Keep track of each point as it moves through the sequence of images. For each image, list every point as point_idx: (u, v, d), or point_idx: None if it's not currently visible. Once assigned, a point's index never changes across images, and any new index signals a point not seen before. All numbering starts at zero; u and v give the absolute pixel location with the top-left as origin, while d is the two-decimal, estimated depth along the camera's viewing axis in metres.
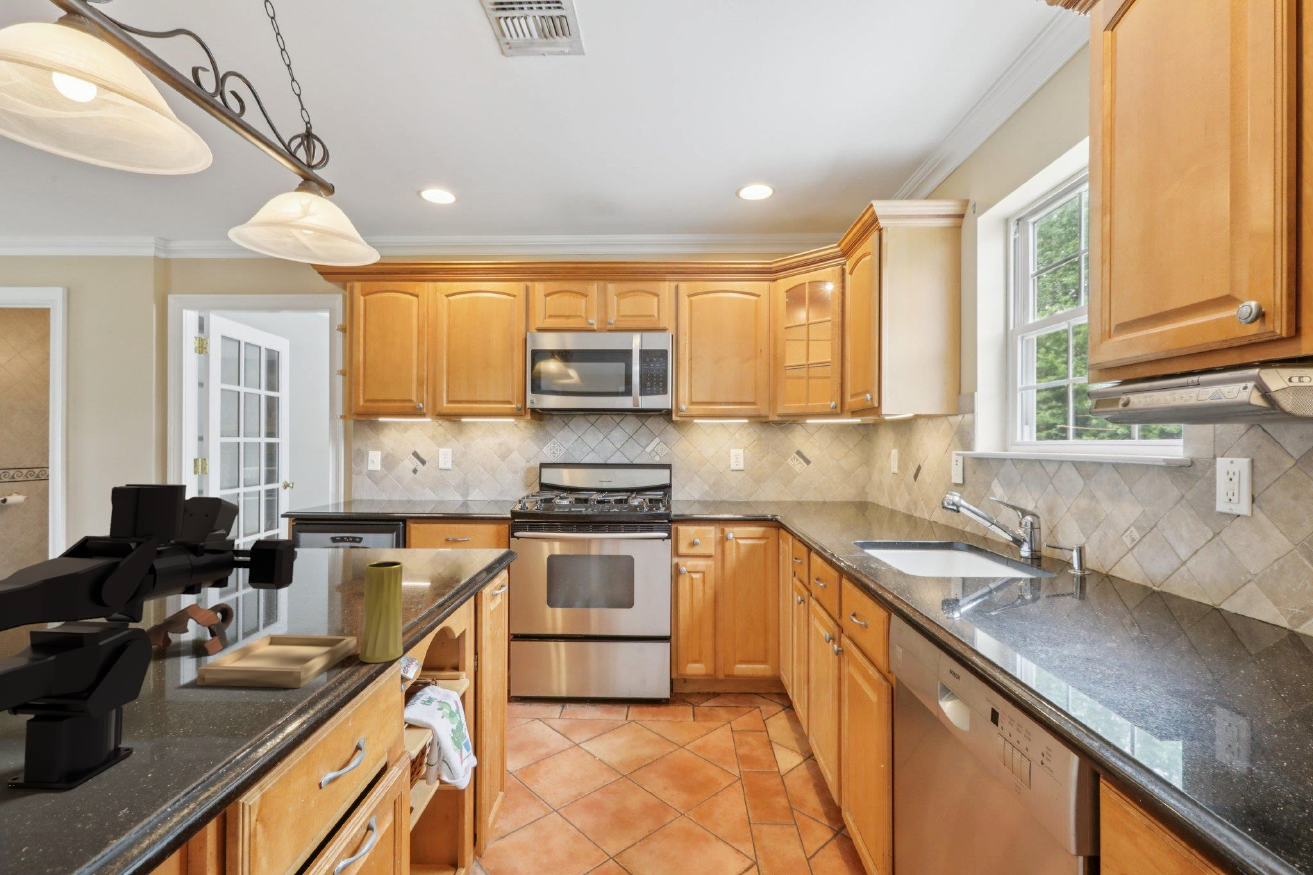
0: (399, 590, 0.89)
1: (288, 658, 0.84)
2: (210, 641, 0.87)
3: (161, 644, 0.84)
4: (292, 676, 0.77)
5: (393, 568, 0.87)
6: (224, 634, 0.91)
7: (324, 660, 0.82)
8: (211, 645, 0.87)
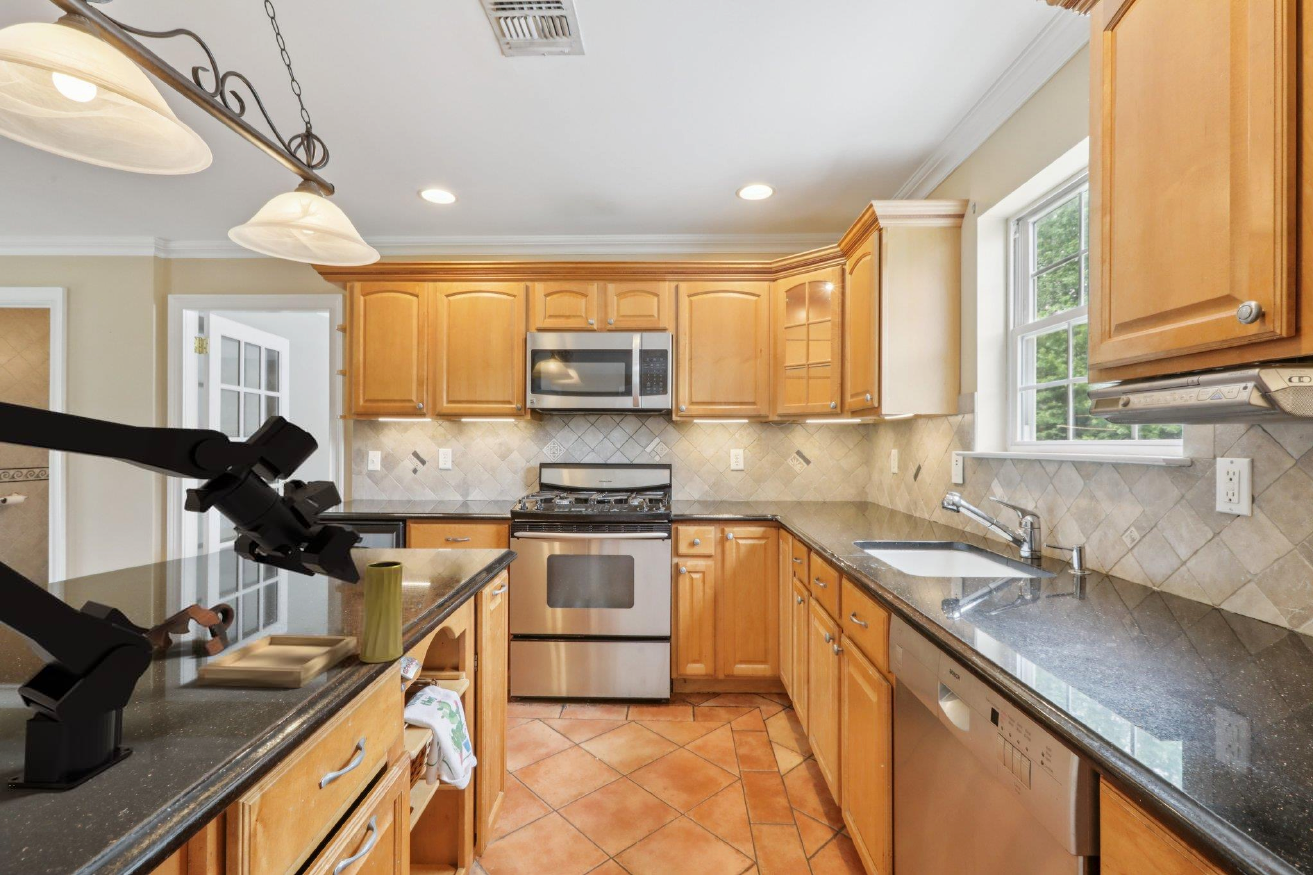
0: (399, 590, 0.89)
1: (288, 658, 0.84)
2: (211, 641, 0.87)
3: (162, 644, 0.84)
4: (292, 676, 0.77)
5: (393, 568, 0.87)
6: (225, 634, 0.90)
7: (324, 660, 0.82)
8: (211, 645, 0.87)
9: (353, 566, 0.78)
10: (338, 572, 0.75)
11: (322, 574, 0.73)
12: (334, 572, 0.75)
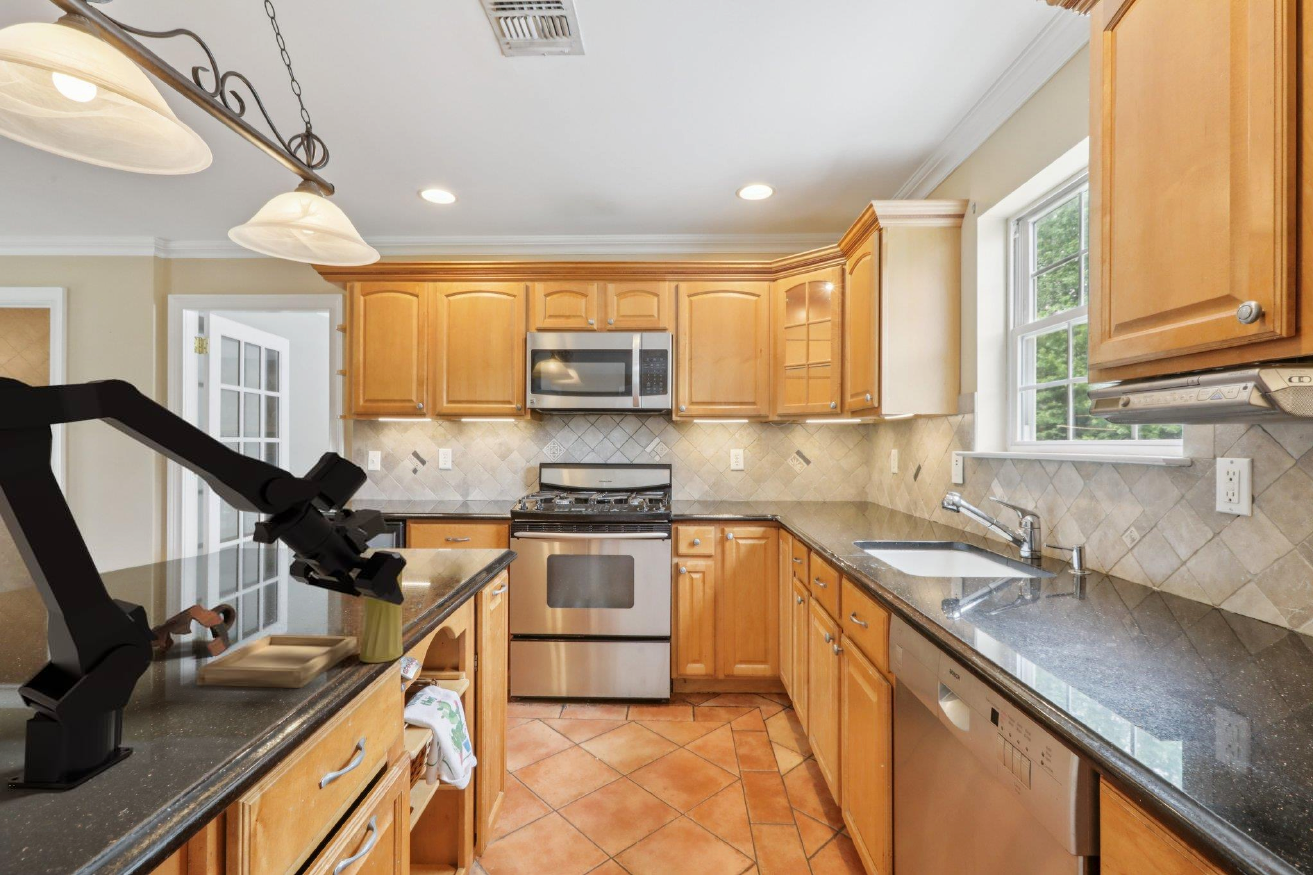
0: None
1: (288, 658, 0.84)
2: (213, 642, 0.87)
3: (164, 645, 0.83)
4: (292, 676, 0.77)
5: None
6: (227, 635, 0.90)
7: (324, 660, 0.82)
8: (213, 645, 0.87)
9: (398, 589, 0.84)
10: (386, 595, 0.82)
11: (373, 597, 0.80)
12: (383, 595, 0.81)
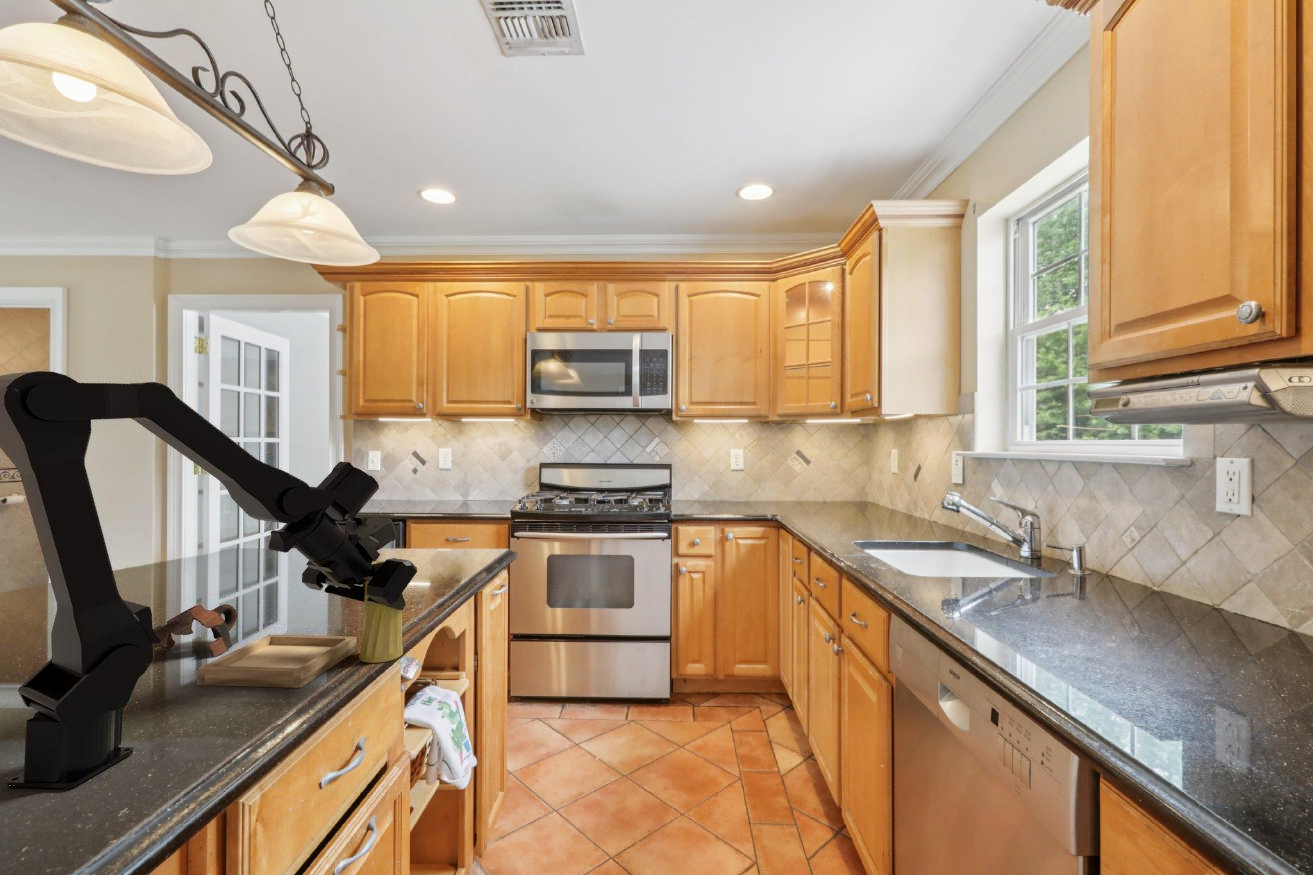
0: None
1: (288, 658, 0.84)
2: (214, 642, 0.87)
3: (165, 645, 0.83)
4: (292, 676, 0.77)
5: None
6: (228, 635, 0.90)
7: (324, 660, 0.82)
8: (215, 646, 0.87)
9: (400, 594, 0.87)
10: None
11: (376, 603, 0.82)
12: None
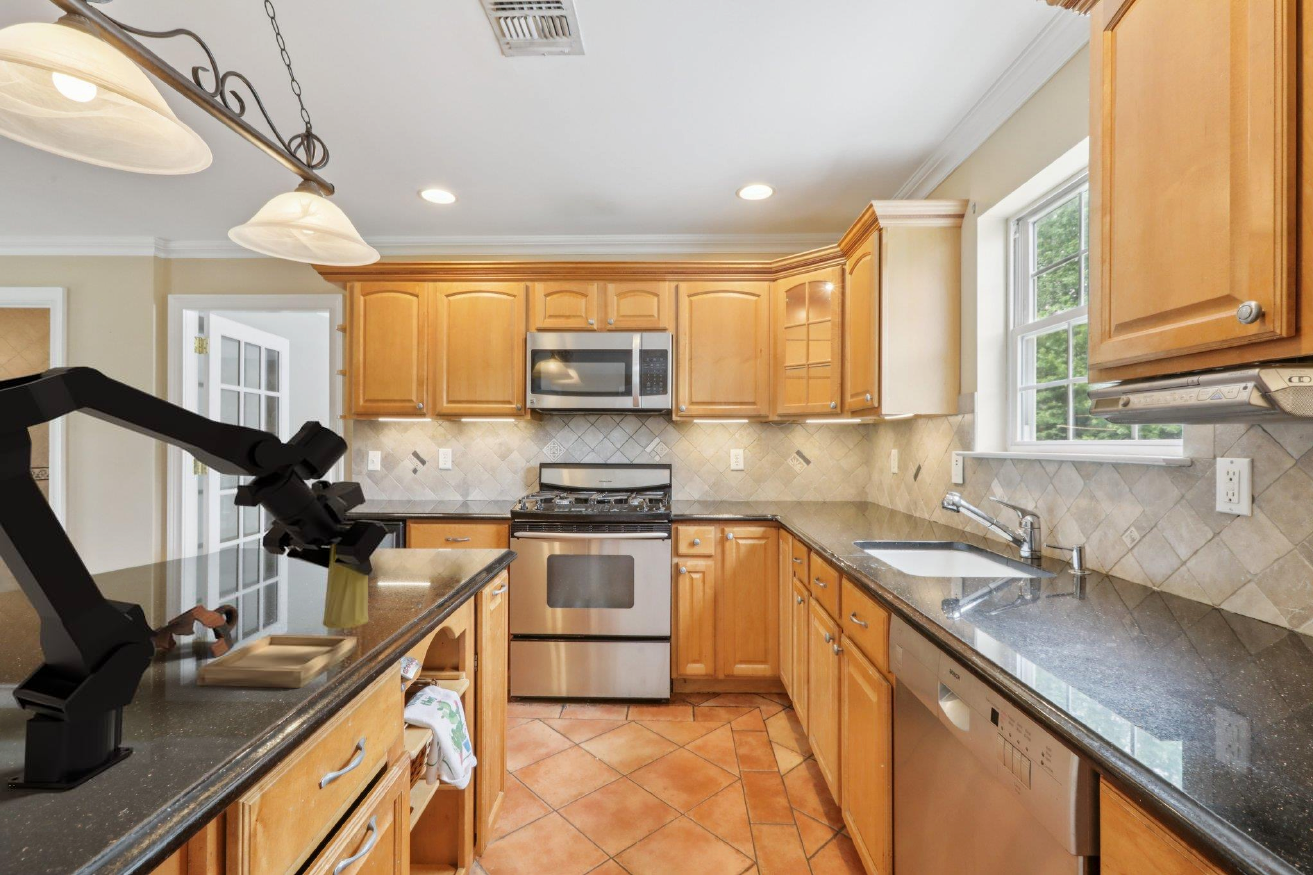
0: None
1: (288, 658, 0.84)
2: (216, 643, 0.87)
3: (167, 646, 0.83)
4: (292, 676, 0.77)
5: None
6: (230, 636, 0.90)
7: (324, 660, 0.82)
8: (217, 646, 0.86)
9: (368, 558, 0.86)
10: (356, 563, 0.83)
11: (344, 564, 0.81)
12: (353, 563, 0.83)
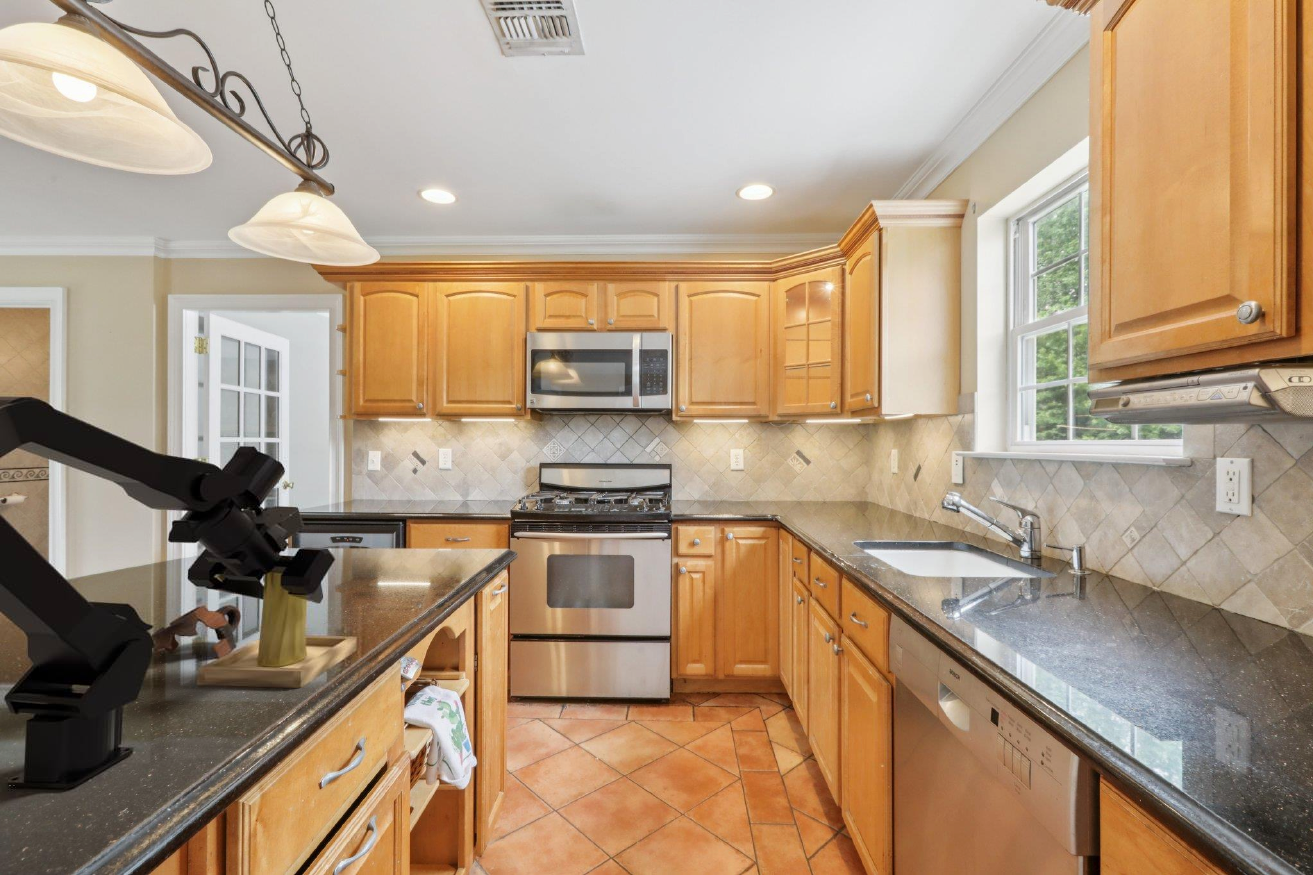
0: None
1: None
2: (219, 643, 0.86)
3: (170, 647, 0.83)
4: (292, 676, 0.77)
5: None
6: (232, 636, 0.90)
7: (324, 660, 0.82)
8: (220, 647, 0.86)
9: (320, 586, 0.83)
10: None
11: (299, 595, 0.78)
12: None
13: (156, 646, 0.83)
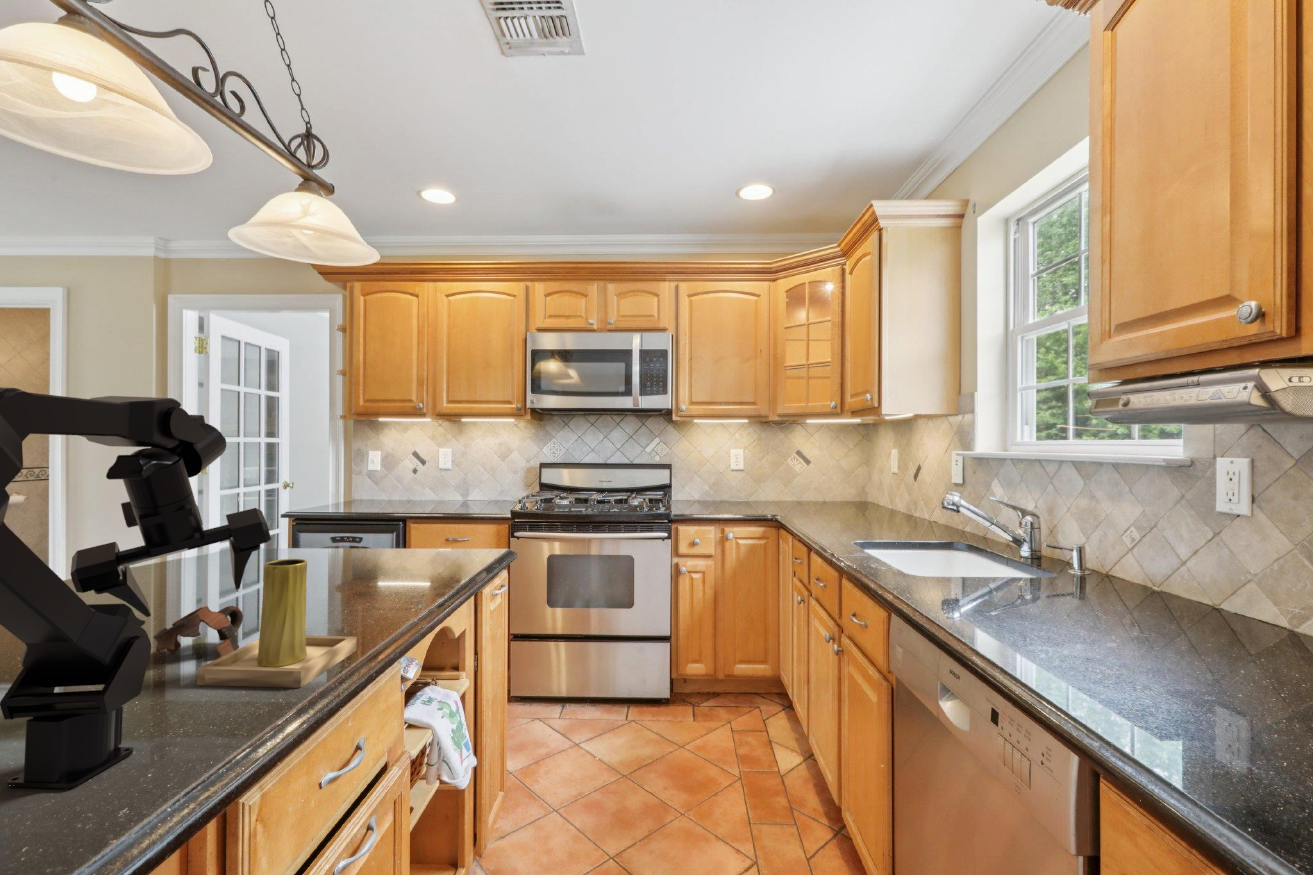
0: (304, 588, 0.84)
1: None
2: (222, 644, 0.86)
3: (173, 648, 0.82)
4: (292, 676, 0.77)
5: (298, 565, 0.83)
6: (235, 637, 0.89)
7: (324, 660, 0.82)
8: (223, 648, 0.86)
9: None
10: None
11: (247, 554, 0.74)
12: None
13: (159, 647, 0.83)
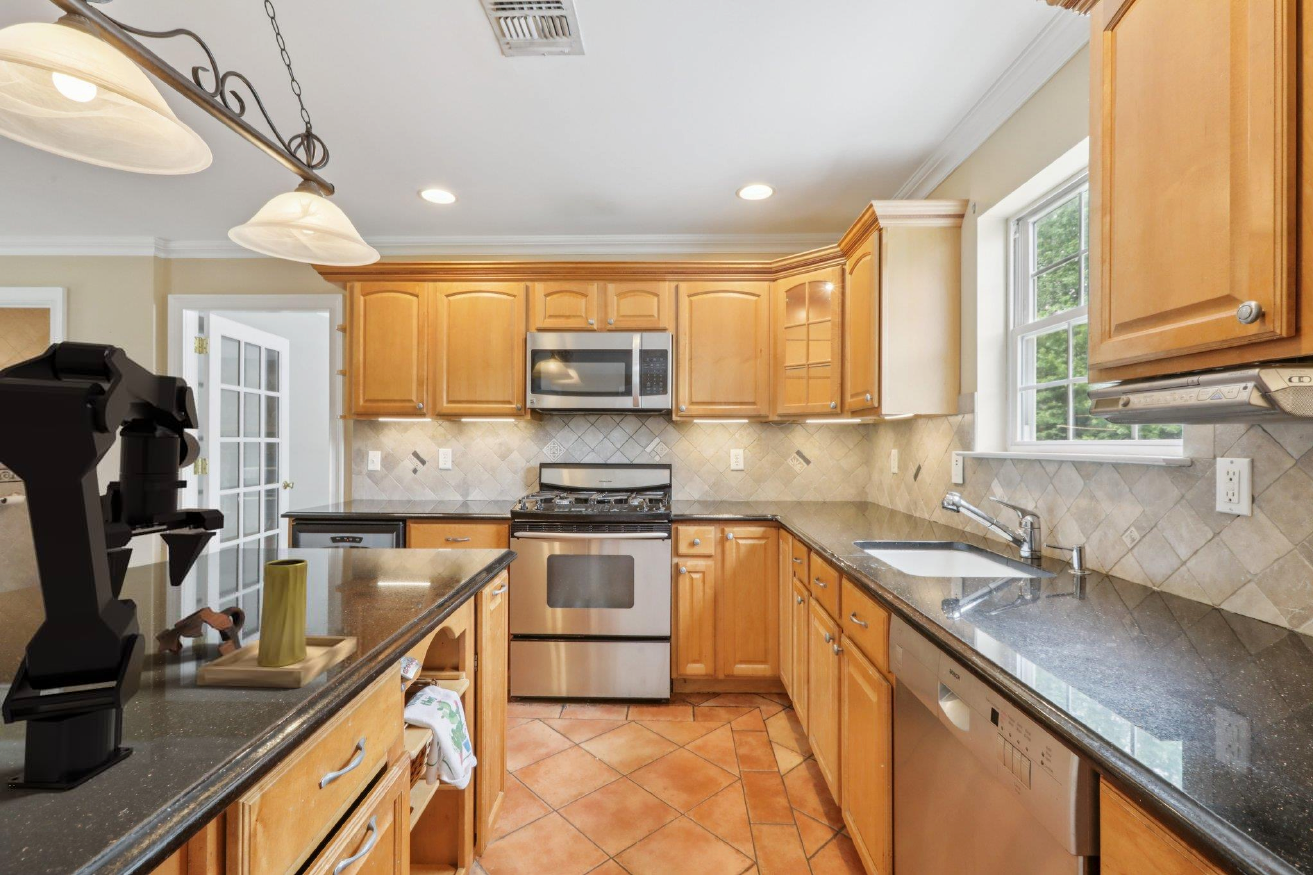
0: (305, 588, 0.84)
1: None
2: (224, 645, 0.86)
3: (175, 649, 0.82)
4: (292, 676, 0.77)
5: (299, 565, 0.83)
6: (237, 638, 0.89)
7: (324, 660, 0.82)
8: (225, 648, 0.86)
9: None
10: None
11: (208, 538, 0.79)
12: None
13: (161, 648, 0.83)
